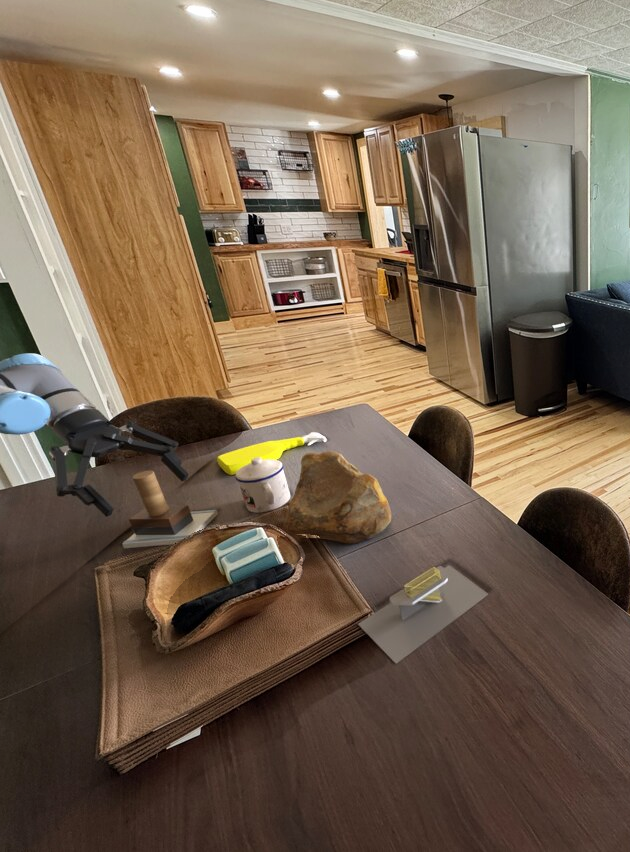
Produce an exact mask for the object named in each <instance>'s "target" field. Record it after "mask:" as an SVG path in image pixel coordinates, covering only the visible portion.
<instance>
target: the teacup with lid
mask: <svg viewBox="0 0 630 852" xmlns="http://www.w3.org/2000/svg"><path fill="white" fill-rule="evenodd" d="M234 476H235V480H236V481H237V482H238V485H239V489H240V492H241V495H242V498H243V501H244V504H245V507H246V509H247V510H248V512H250V513H256V514H259V513H266V512H272V511H274V510H276V509H279V508H281V507H283V506H284V505H286V504H287V503H288V502H289V501H290V499H291V492H290V488H289V485H288V481H287V478H286V475H285V471H284V464H283V462H281V461H280V460H279V459H277V460H274V459H266V460H262V459H261V458H259V457H257V458H254V459H252V460H251V463H250V464H247V465H245V466H243V467H242V468H240V469H239V470H238V471H237V473H236V474H235V475H234Z"/></svg>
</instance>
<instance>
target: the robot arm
mask: <svg viewBox="0 0 630 852" xmlns="http://www.w3.org/2000/svg"><path fill="white" fill-rule="evenodd" d="M45 425H47V427H49V428H50V429H52V432H53V433H54V434H56V436H57V437H58V438H59V439H60V440H61V441H62V442H63V443H65V444H66V445H63V446H57V445H53V446H50V448H49V452H48V457H49V458H50V459H51V461H52V463H53V465H54V467H53V468H54V478H55V479H54V480H55V493H56V496H57V497H61V498H62V497H65V496H68V495H71V496H73V497H77V498H78V499H79V500H80V501H81V502H82V504H84V505H86V506H91V505H94V507H96V508H97V509H98V510H99V511H100V512H101V513H102V514H103V516H105V517H106V518H107V517H109V516H111V515H112V514H113V511H114V510H115V508H114V507H113V506H112V505H111V504H110V503H109V502H108V501H107V500H106V499H105V498H104V497H103V496H102V495H101V494H100V493H99V492H98V491H97V490H96V489H95V488H94V487H93V486H92V485H91V484H86V485H84V482H85V478H86V475H87V472H88V468H89V465H90V462H91V459H92V458H97V459H100V458H102V457H104V456H105V455H108V454H112V453H116V452H117V450H121V451H132V452H137V453H143V454H147V455H151V456H157V457H161V458H160V461H161V462H162V463H163V464H164V465H165V466H166V467H167V468H168V469H169V470H170V472H171V473H173V475H175V476H176V477H177V478H178V479H179V480H180V481H181V483H183V482H185V481H186V480H187V479H188V477H189V474H190V473H189V472H188V471H187V470H185V468H184V467H183V466H182V465H181V464H183V462H182V461H183V460H182V459H181V458H180V457H178V455H177V454H176V453H175V451H176V450H177V448H178V446H179V442H178V441H176V440H173V439H172V438H171V439H170V438H169V437H166V436H164V435H161V434H159V433H156V432H154V431H151V430H149V429H147V428H145V427H142V426H140V425H139V424H138V423H136V422H135V421H133V420H129V421H127V423H126V424H124V425H122V426H120V427H117V426H115V425H113V424H112V422H111V420H109V419H108V418H107V417H106V416H105V415H104V414H103V413H102V412H101V411H100V410H99V409H97V407H96V406H95V404H93V403H92V401H90V399H89V398H87V397H86V396H85V395H84V394H83V393H82V392H81V390H79V389H78V388H77V387H76V386H75V385H74V383H72V382H71V381H70V380H69V379H68V378H67V377H66V375H64V374H63V372H62V370H61V369H60V368H58V367H57V366H56V365H55V364H54V363H53V362H52V361H50V360H49V359H48V358H46V357H45V356H43V355H41V354H38V353H30V352H28V353H20V354H16V355H15V354H14V355H12V357H10V358H4V359H2V360H1V361H0V434H3V435H15V436H19V435H20V436H21V435H27V434H31V433H35V432H36V431H38V430H40V429H41V428H43V427H44V426H45ZM123 434H126V435H127V436H125V435H123ZM130 436H133V437H134V438H136V439H133V438H132V437H130ZM69 453H73V454H76V455H81V459H80V462H79V466H78V469H77V472H76V475H75V477H74V482H73V484H68V475H67V473H68V472H67V461H66V458H67V457H68V455H69ZM83 485H84V486H83Z"/></svg>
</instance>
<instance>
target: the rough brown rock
mask: <svg viewBox="0 0 630 852" xmlns="http://www.w3.org/2000/svg"><path fill="white" fill-rule="evenodd" d="M300 460H301V461H300V466H301V467H300V474H299V479H298V481H297V484H296V486H295V491H294V494H293V496H292V498H291V501H290V502H289V506H288V509H287V512H286V514H285V517H284V521H283V529H284V530H287V531H288V532H289V533H292V534H293V535H295V536H296V537H298V538H302V539H307V538H306V536H302V535H296V534H310V535H317V536H319V537H320V538H319V539H321V540H322V539H323V540H330V541H334V542H338V543H339V542H340V543H344V544H349V545H352V544H355V545H356V544H360V543H361V542H362V541H364V540H367V539H371V538H373V537H375V536H377V535H378V534H380V533H381V532H383V531H384V530H385V529H386V528H387V527H388V526H389V524H390V523H391V521H392V510H391V508H390V504H389V501H388V499H387V497H386V495H385V494H384V493H383V489H382V488H381V486H380V484H379V481H378V479H377V478H375V477H374V476H373V475H371V474H370V473H362V472H360V470H358V468H357V467H356V466H355V465H354V464H352V463H350V462H348V460H347V459H346V458H345V457H344V456H343V454H341V453H339V452H337V451H334V450H332V451H331V450H329V451H324V452H321V453H317V452H307V453H305V454H304V455H303V456H302V457H301V459H300Z"/></svg>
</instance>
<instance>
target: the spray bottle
mask: <svg viewBox="0 0 630 852" xmlns="http://www.w3.org/2000/svg"><path fill="white" fill-rule="evenodd" d="M327 441H328V438H326V436H324V435H322V434H321V433H319V432H315V431H310V433H308V434H305V435H302V436H297V437H292V438H285V439H284V438H283V439H278V440H268V441H264V442H260V443H255V444H252V445H249V446H245V447H241V448H238V449H236V450H235V449H234V450H232V451H229V452H225V453H223V454H220V455H218V456H217V459H216V462H217V464H218V465H217V466H219V467H220V469H222V470H223V471H224V472H225V473H226V474H227V475H229V476H236V473H237V471H238V470H239V469H240V468H242V467H243V466H245V465H247V464H250V463H251V460H252V459H254V458H257V457H259V458H261V459H262V460H266V459H274V460H279V459H280V458H281V456H282V454H283V453H284V452H285V451H289V450H290V449H294V448H297V447H301V446H304V445H306V444H307V446H311V445H312V444H314V443H321V442H324V443H326V442H327Z"/></svg>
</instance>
